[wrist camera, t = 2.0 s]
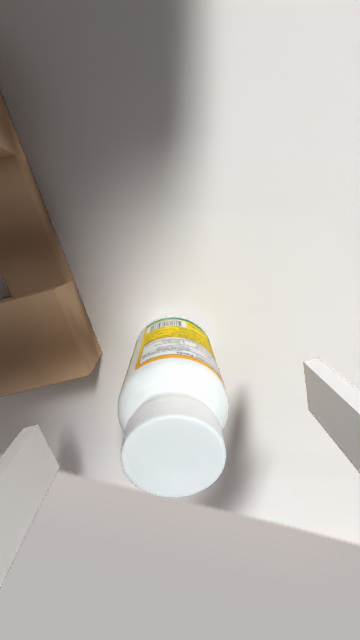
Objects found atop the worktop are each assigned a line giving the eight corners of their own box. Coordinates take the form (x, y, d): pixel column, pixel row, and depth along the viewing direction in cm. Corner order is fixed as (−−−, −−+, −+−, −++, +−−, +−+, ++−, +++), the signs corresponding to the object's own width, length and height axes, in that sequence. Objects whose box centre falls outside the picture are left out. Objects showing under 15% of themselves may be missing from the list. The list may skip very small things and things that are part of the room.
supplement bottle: (167, 298, 17) (162, 370, 8) (224, 343, 19) (276, 448, 10) (121, 354, 19) (73, 470, 10) (178, 393, 20) (184, 528, 11)
